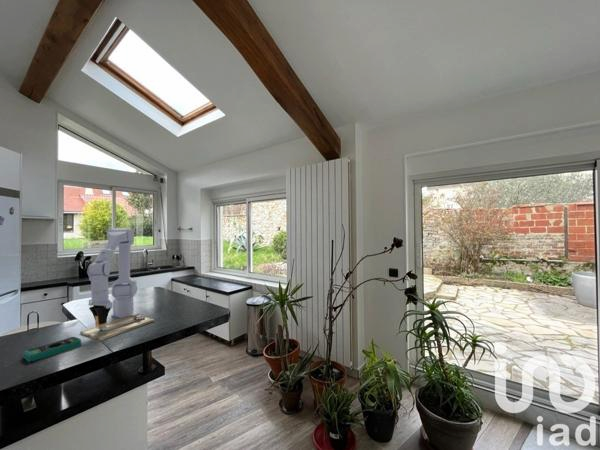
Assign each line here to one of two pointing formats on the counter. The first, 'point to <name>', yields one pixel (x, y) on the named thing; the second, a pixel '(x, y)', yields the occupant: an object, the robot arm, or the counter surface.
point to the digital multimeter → (52, 348)
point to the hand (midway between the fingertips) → (101, 322)
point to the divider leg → (100, 326)
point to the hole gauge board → (118, 327)
